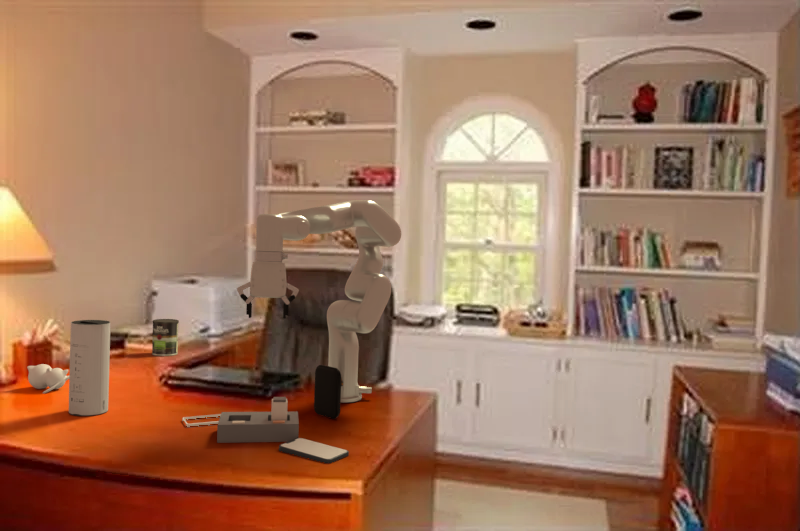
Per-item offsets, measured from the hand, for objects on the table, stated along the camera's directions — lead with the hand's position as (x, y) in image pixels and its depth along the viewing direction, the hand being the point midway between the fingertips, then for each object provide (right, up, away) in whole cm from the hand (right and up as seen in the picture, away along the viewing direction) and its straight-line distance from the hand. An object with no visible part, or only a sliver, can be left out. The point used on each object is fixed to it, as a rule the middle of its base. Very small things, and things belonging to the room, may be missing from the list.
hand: (267, 317), depth 194 cm
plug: (+6, -28, -16) cm, 33 cm away
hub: (+1, -29, -17) cm, 34 cm away
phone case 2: (+17, -31, -29) cm, 46 cm away
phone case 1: (-14, -29, -6) cm, 33 cm away
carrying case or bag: (+17, -29, +2) cm, 34 cm away
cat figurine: (-75, -25, +22) cm, 82 cm away
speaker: (-50, -27, -1) cm, 57 cm away
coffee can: (-60, -22, +89) cm, 110 cm away
